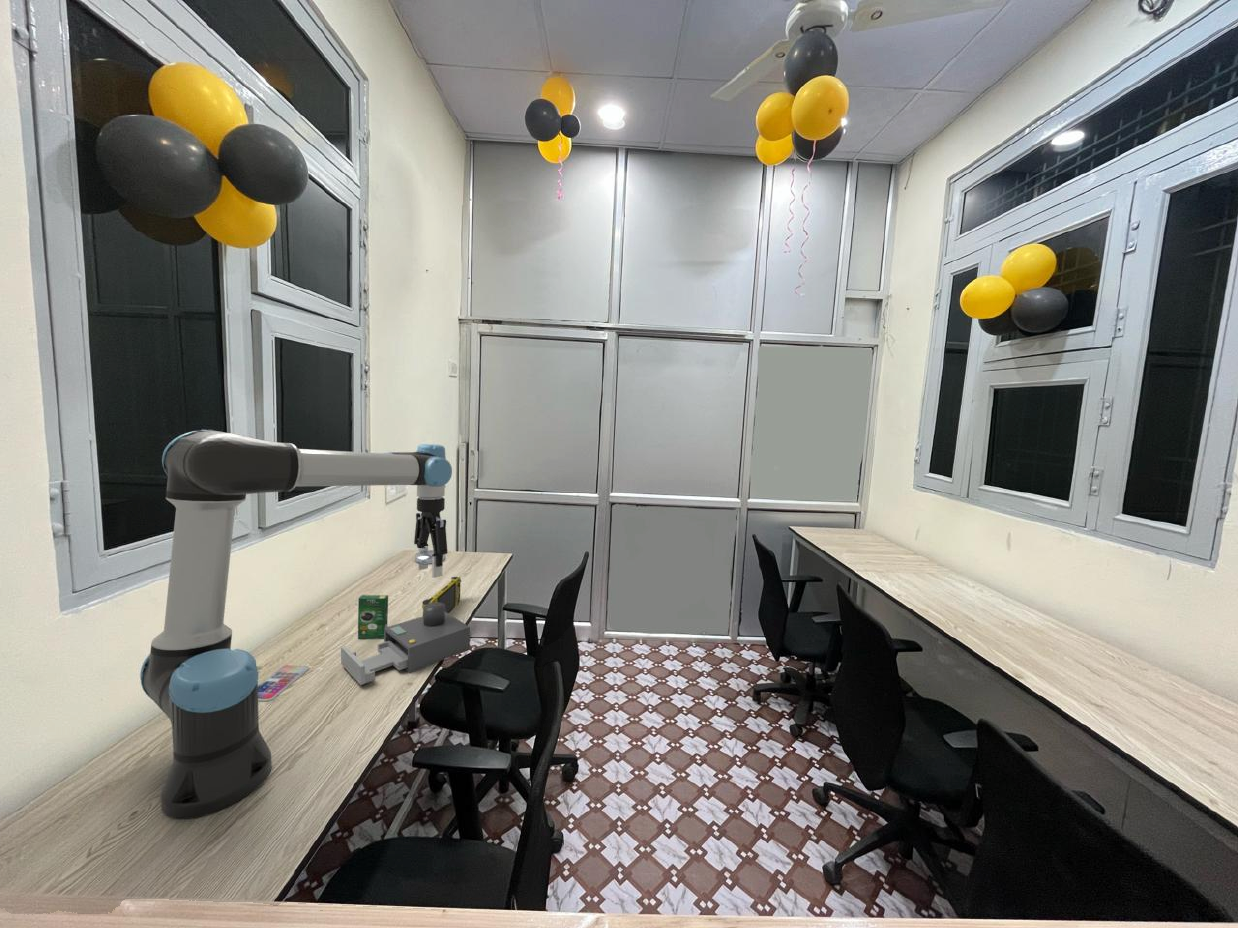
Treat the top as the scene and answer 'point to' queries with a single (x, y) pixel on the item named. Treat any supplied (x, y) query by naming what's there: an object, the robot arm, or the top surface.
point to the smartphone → (279, 682)
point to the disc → (425, 557)
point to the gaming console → (447, 595)
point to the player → (430, 636)
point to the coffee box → (372, 616)
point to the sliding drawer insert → (374, 661)
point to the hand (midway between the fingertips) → (429, 572)
